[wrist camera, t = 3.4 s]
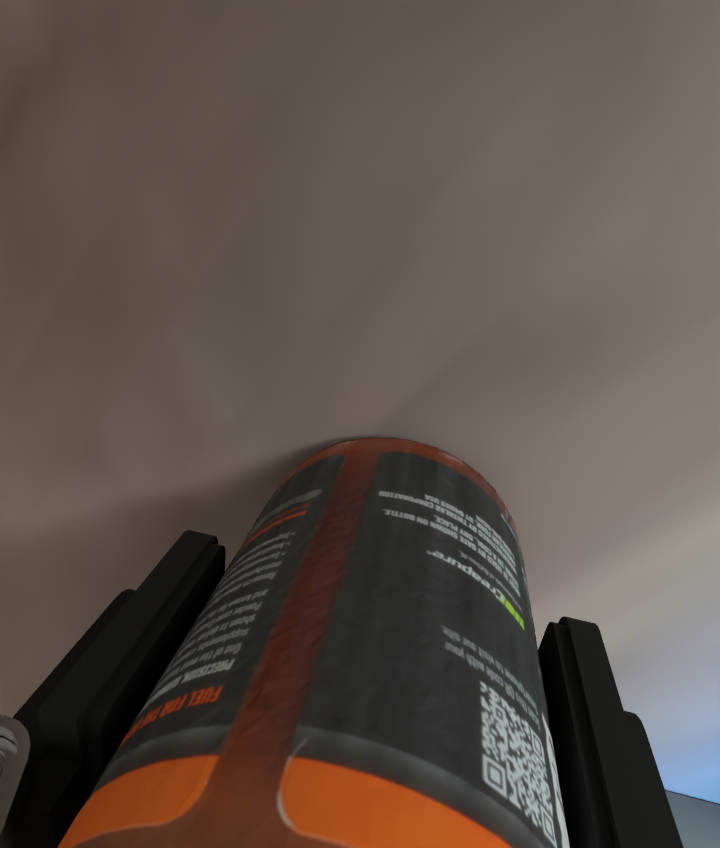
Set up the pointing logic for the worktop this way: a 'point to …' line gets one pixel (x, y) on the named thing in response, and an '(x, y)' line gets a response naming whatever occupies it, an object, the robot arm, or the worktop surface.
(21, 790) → the robot arm
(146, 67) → the worktop surface
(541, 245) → the worktop surface
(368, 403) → the worktop surface
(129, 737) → the supplement bottle
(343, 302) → the worktop surface
